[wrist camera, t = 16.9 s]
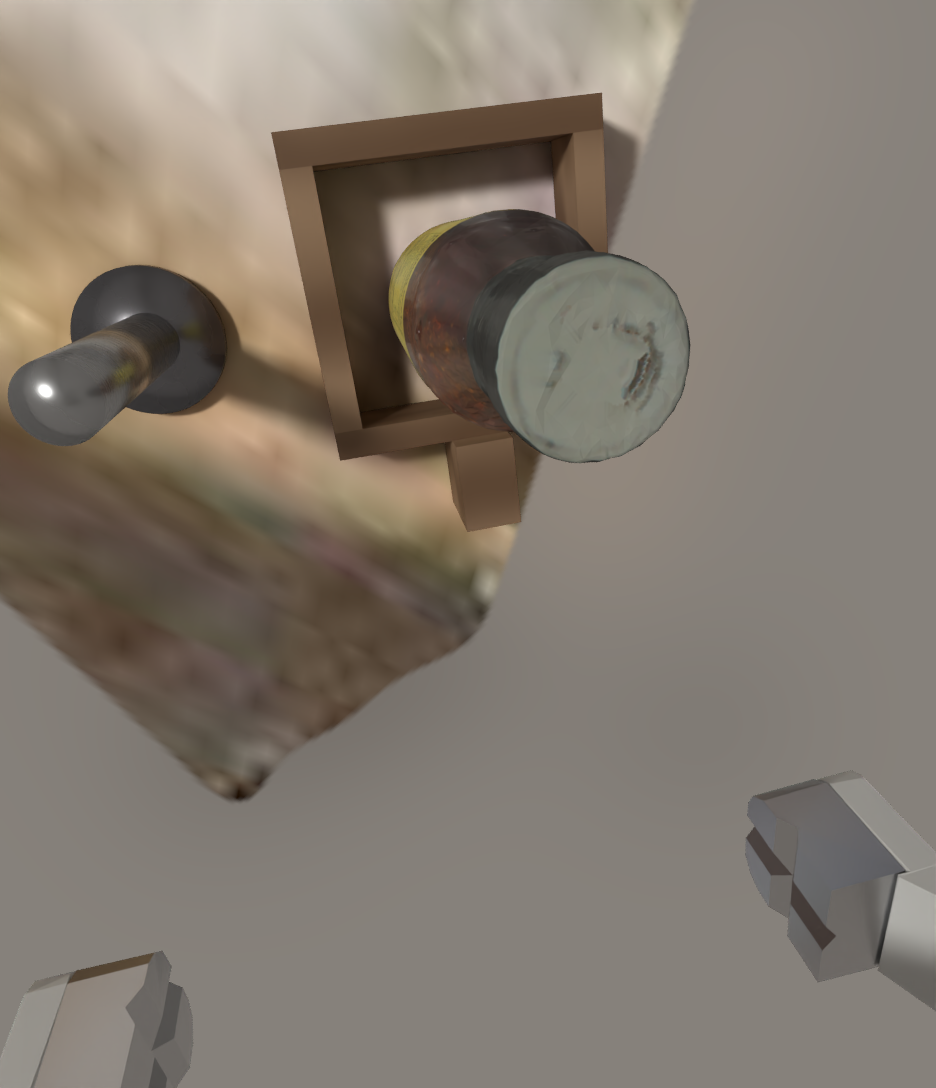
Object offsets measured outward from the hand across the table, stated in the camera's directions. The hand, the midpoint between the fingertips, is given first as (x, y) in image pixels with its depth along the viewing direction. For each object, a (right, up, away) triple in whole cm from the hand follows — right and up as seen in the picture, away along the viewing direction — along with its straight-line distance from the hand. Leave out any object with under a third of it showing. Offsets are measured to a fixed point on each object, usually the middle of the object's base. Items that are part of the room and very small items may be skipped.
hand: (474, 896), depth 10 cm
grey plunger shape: (-14, +14, +20) cm, 28 cm away
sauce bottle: (-1, +16, +22) cm, 27 cm away
